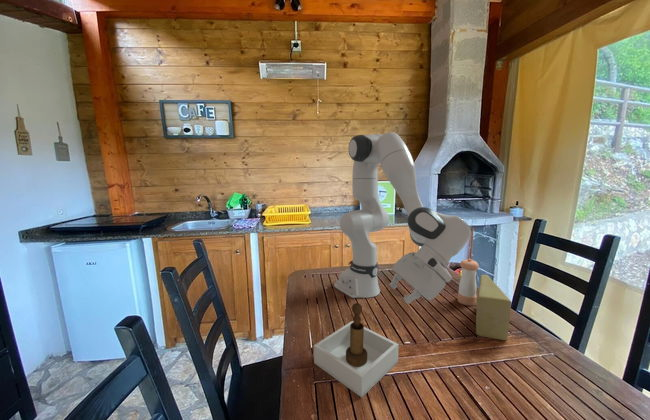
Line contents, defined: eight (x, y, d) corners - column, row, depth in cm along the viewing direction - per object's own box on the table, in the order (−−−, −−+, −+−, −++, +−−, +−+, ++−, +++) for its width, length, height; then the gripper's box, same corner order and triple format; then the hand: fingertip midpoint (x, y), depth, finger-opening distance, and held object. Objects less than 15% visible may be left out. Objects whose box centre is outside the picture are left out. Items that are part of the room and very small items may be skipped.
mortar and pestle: (367, 368, 81) (368, 310, 78) (344, 365, 82) (345, 309, 79) (367, 352, 87) (368, 299, 84) (346, 350, 88) (346, 298, 85)
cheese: (468, 305, 117) (470, 271, 114) (494, 309, 113) (498, 274, 111) (475, 335, 96) (478, 295, 94) (508, 342, 93) (512, 300, 90)
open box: (314, 363, 84) (313, 345, 83) (352, 336, 97) (352, 320, 96) (361, 397, 72) (361, 377, 71) (398, 362, 84) (398, 344, 83)
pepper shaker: (471, 297, 123) (475, 256, 120) (479, 305, 116) (482, 262, 113) (454, 297, 124) (457, 255, 121) (461, 305, 117) (464, 261, 113)
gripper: (406, 244, 94) (378, 274, 94) (442, 267, 75) (407, 304, 75) (417, 256, 96) (390, 285, 96) (456, 281, 76) (421, 318, 76)
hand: (397, 294), depth 85 cm, fingers open, 8 cm apart
